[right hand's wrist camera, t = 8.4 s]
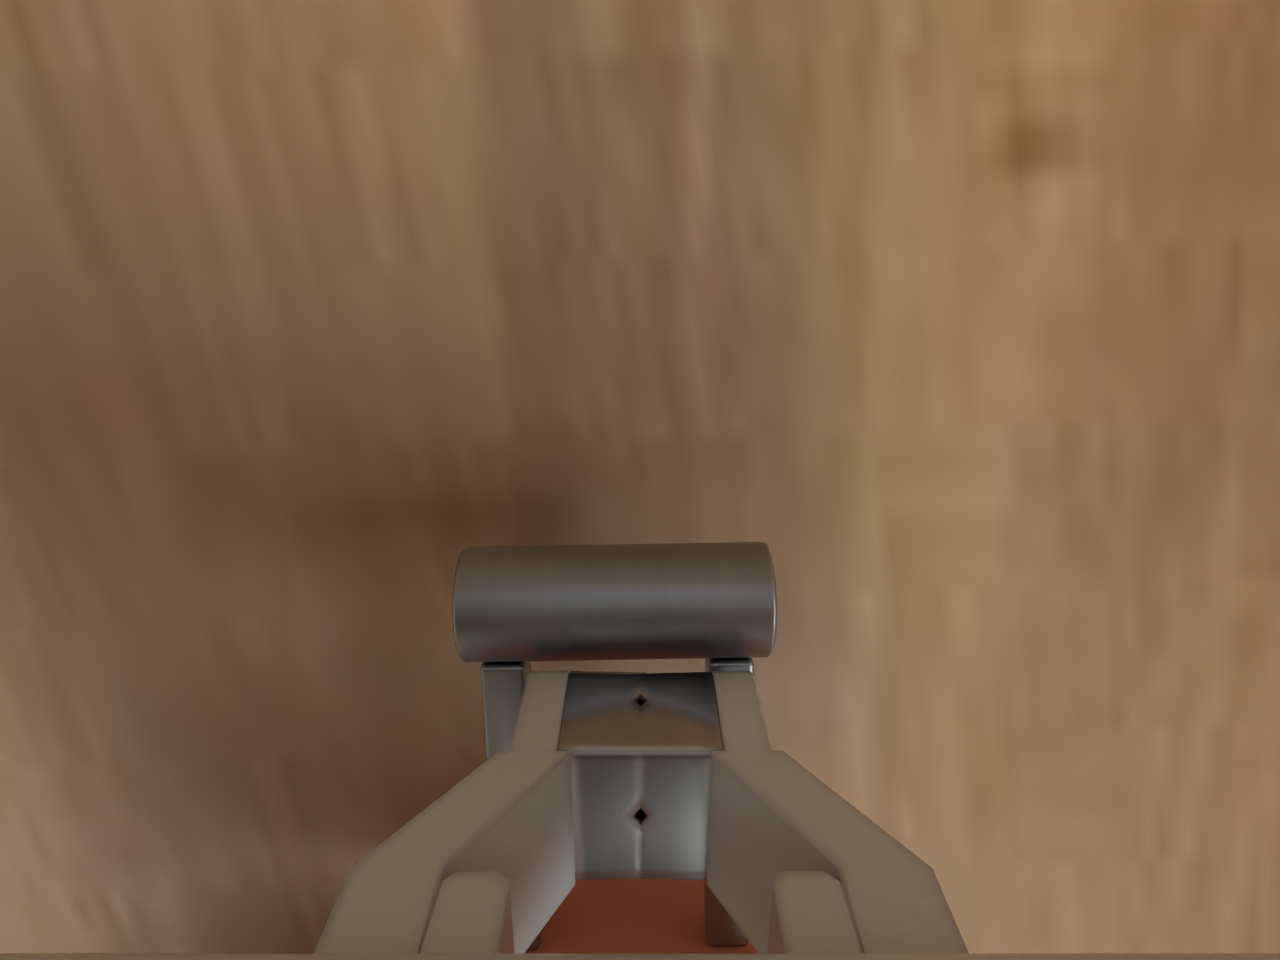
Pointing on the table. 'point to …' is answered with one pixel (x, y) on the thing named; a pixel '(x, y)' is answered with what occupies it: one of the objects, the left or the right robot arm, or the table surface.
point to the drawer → (615, 630)
